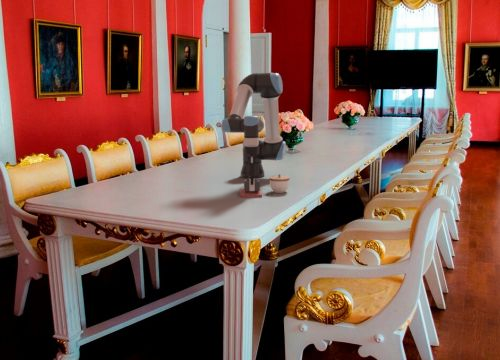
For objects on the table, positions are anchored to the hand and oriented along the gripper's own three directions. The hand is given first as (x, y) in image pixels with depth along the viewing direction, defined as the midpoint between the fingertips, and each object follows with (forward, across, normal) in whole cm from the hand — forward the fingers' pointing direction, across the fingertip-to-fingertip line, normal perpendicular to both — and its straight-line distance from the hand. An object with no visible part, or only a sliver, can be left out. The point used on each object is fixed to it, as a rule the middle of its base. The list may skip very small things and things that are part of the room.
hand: (251, 189), depth 277 cm
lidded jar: (+3, -5, +15) cm, 16 cm away
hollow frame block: (0, 0, 0) cm, 0 cm away
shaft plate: (+3, 0, 0) cm, 3 cm away
